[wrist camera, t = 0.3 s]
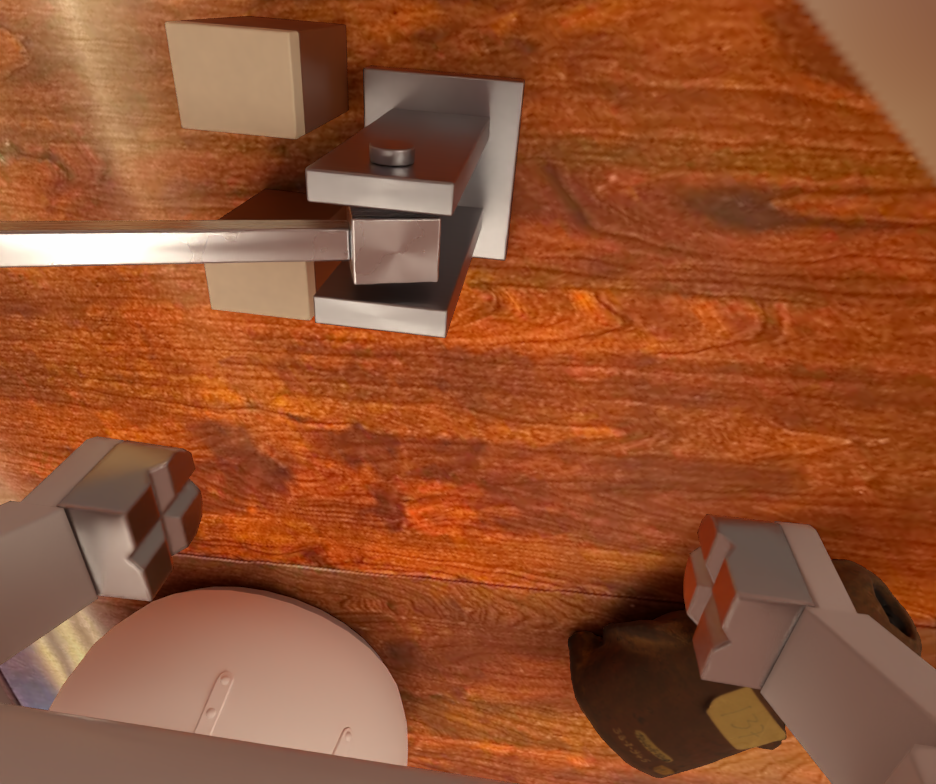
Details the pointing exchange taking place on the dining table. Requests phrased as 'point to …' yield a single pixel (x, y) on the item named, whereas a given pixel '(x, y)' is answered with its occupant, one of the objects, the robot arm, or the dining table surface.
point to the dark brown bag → (691, 686)
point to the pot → (243, 675)
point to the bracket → (423, 186)
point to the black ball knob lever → (238, 243)
